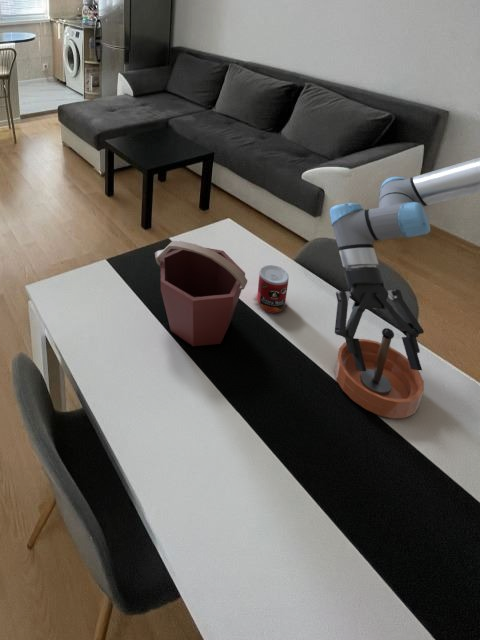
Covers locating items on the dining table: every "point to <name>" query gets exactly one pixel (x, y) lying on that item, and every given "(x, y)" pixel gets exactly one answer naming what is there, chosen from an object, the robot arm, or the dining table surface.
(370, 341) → the bowl
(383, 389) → the ring stacker peg
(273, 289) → the canned food
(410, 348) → the robot arm
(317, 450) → the dining table surface
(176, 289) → the bucket
